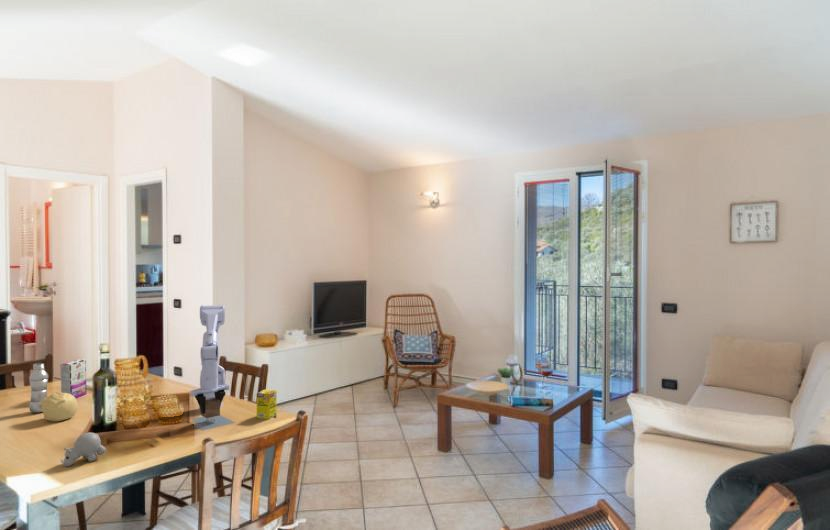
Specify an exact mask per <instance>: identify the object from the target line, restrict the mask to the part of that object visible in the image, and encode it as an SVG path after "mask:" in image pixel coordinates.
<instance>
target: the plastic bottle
mask: <svg viewBox="0 0 830 530" xmlns="http://www.w3.org/2000/svg"><path fill="white" fill-rule="evenodd" d="M32 366H33V367H32V369H33V371H32V372H31V374H30V375H29V377H28V380H29V385H30V386H29V387H30V401H29V406H28V408H29V411H30V413H31V414H32V413H33V414H36V413H38V414H39V413H43V411H42V409H41V404H40V402H41V400H42V399H44V398H45V397H46V396H48V382H49V373H48V372H47V371H46V370H45V363H43V362H42V363H40V362H38V363H34V364H32Z"/></svg>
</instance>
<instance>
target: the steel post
mask: <svg viewBox="0 0 830 530" xmlns="http://www.w3.org/2000/svg"><path fill="white" fill-rule="evenodd" d="M206 422H207V423H211V422H215V417H210V418H206Z"/></svg>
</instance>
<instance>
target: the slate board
mask: <svg viewBox="0 0 830 530" xmlns="http://www.w3.org/2000/svg"><path fill="white" fill-rule="evenodd" d="M193 419H194V423H195V426H194V427H195V428H197V429H199V430H201V431H206V430H210V429H215V428H218V427H219V428H220V427H224V426H229V425H232V424H235V423H236V421H234V420H231V419H230V418H227V417H226V416H223V415H221V414H220V415H219V416H215V422H211V423H207V422H206V418H205V417H203V416H200V417H196V418H193Z"/></svg>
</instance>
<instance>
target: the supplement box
mask: <svg viewBox="0 0 830 530" xmlns="http://www.w3.org/2000/svg"><path fill="white" fill-rule="evenodd" d="M256 418H257V419H265V420H270V419H272V418H274V419H275V418H277V390H276V389H274V390H273V389H263V390H261V391H258V392H256Z"/></svg>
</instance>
